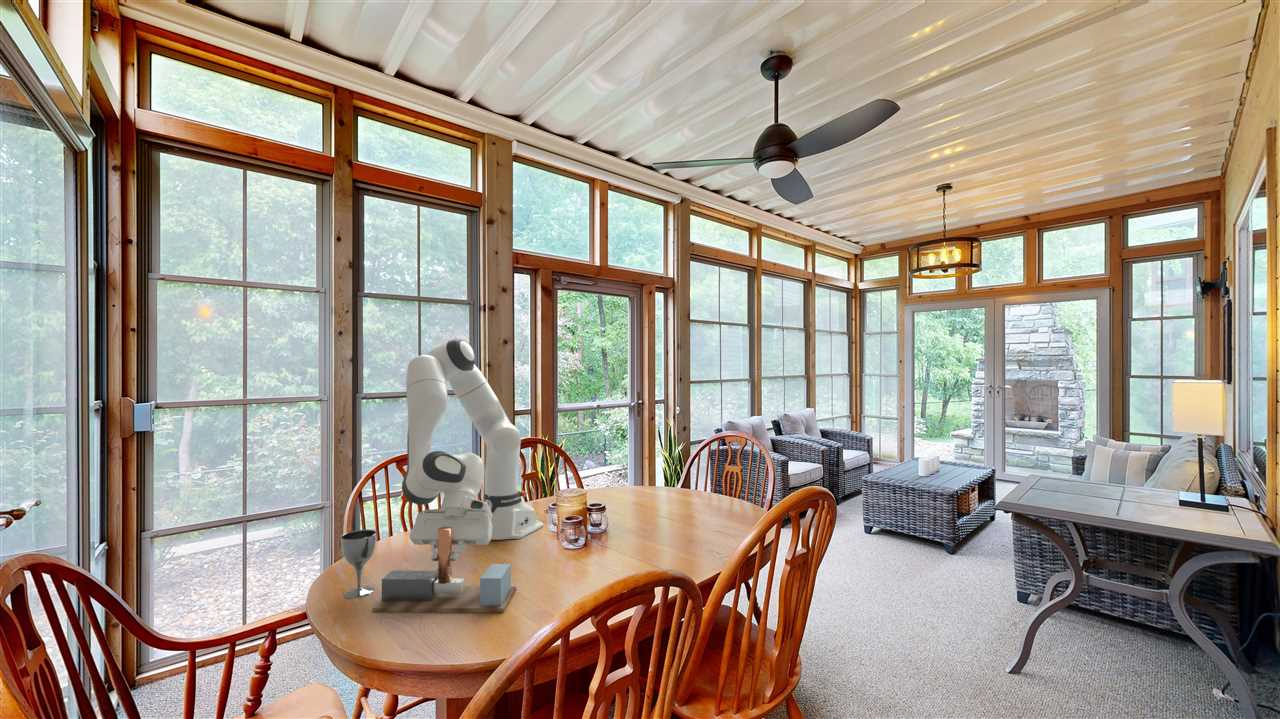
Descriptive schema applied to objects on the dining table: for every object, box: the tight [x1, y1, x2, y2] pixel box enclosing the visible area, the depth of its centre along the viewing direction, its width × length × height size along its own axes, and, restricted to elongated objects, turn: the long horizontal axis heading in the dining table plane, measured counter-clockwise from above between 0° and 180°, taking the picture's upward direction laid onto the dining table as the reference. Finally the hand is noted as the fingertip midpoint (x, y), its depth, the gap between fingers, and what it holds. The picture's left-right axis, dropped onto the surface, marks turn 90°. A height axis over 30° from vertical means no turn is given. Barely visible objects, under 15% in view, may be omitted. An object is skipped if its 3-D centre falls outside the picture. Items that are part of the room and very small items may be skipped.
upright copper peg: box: [432, 527, 466, 593], centre depth 131 cm, size 18×3×16 cm, turn 89°
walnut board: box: [372, 585, 517, 614], centre depth 131 cm, size 31×12×1 cm, turn 89°
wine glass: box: [340, 528, 377, 599], centre depth 136 cm, size 8×8×15 cm
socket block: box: [479, 563, 512, 605], centre depth 131 cm, size 5×9×6 cm, turn 179°
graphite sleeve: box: [381, 569, 438, 602], centre depth 131 cm, size 12×5×5 cm, turn 89°
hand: (444, 560), depth 131 cm, fingers closed on upright copper peg, 3 cm apart
